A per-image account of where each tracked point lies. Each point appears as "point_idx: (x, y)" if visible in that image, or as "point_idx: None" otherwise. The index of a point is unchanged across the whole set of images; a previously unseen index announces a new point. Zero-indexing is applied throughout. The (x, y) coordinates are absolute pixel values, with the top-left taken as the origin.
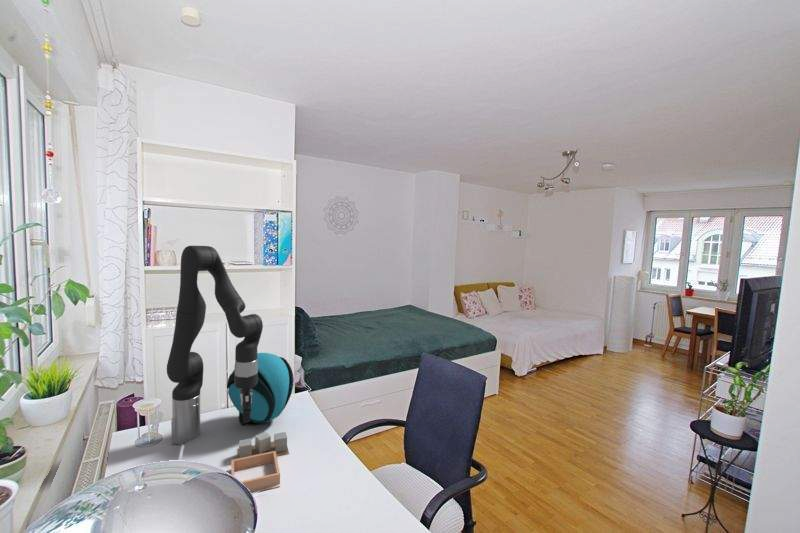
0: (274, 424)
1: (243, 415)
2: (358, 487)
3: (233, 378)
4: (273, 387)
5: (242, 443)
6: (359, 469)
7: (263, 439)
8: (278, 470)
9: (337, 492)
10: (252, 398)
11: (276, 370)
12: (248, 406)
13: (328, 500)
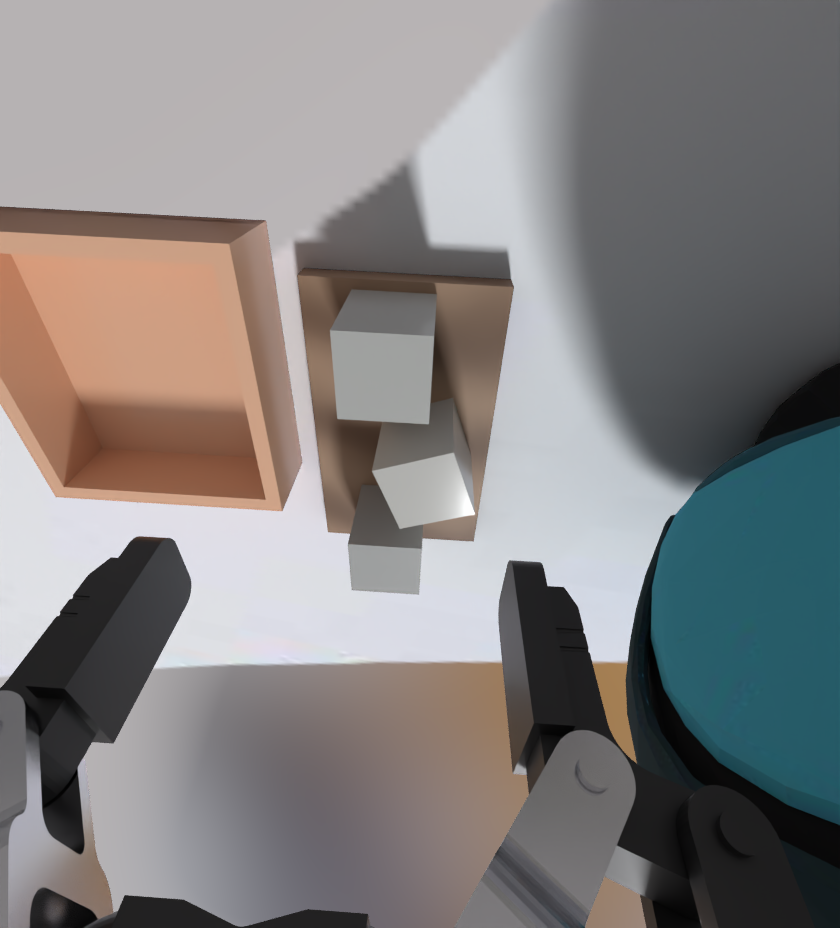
0: None
1: (66, 638)
2: None
3: None
4: None
5: (376, 358)
6: (192, 663)
7: (381, 489)
8: (87, 495)
9: (72, 596)
10: (834, 663)
11: None
12: (503, 662)
13: (27, 568)
